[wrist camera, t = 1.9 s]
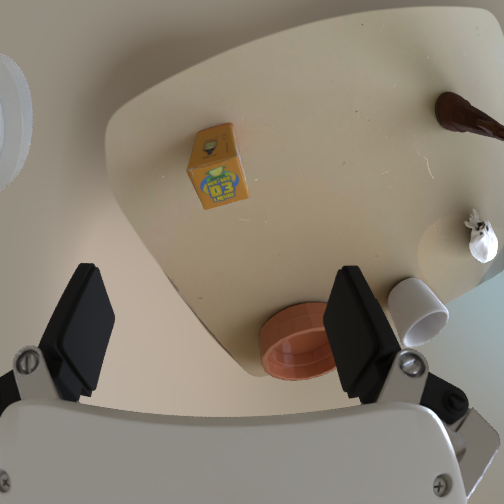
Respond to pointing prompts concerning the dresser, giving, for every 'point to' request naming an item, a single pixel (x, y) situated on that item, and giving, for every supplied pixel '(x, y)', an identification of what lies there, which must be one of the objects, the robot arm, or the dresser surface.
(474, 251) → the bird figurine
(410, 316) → the cup
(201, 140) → the supplement box
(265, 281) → the dresser surface
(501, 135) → the chess piece
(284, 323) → the bowl
